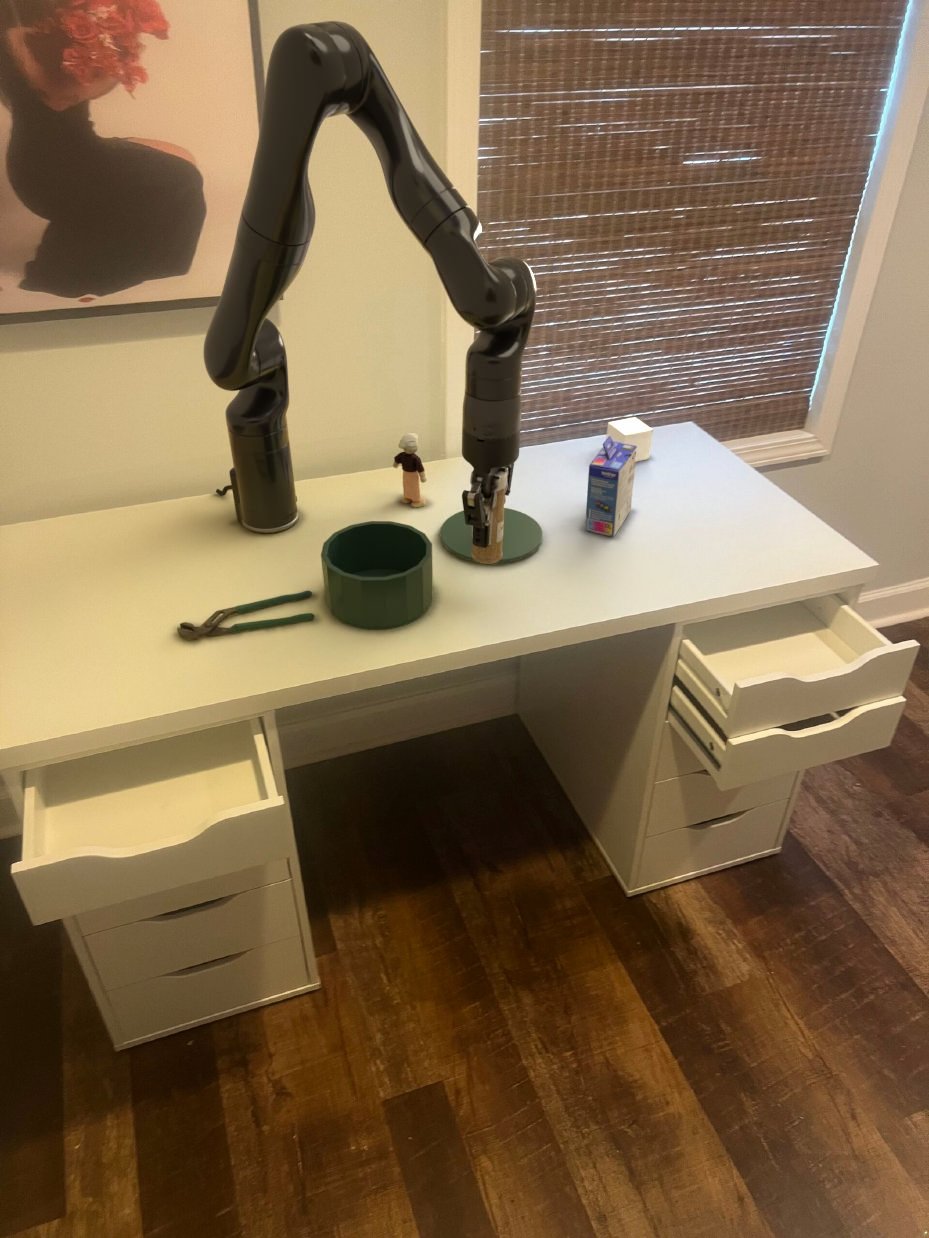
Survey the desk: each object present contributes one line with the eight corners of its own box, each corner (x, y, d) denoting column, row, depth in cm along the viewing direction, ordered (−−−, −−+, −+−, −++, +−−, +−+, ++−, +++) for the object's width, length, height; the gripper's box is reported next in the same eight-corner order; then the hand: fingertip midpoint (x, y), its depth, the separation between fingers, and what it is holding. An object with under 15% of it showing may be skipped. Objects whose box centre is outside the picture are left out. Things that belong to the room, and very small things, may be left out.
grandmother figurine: (436, 502, 157) (435, 434, 149) (423, 511, 154) (421, 443, 146) (399, 490, 160) (397, 423, 152) (387, 499, 157) (383, 432, 150)
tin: (307, 614, 130) (301, 565, 125) (357, 559, 142) (354, 512, 137) (404, 640, 126) (402, 590, 121) (449, 582, 137) (449, 534, 132)
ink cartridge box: (600, 503, 157) (608, 426, 148) (631, 510, 155) (641, 432, 146) (581, 530, 149) (589, 450, 141) (614, 538, 148) (623, 457, 139)
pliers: (311, 595, 134) (311, 588, 134) (321, 619, 129) (320, 612, 129) (175, 620, 129) (174, 612, 128) (180, 646, 124) (178, 638, 123)
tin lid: (423, 552, 144) (422, 513, 139) (463, 505, 156) (463, 467, 152) (522, 575, 139) (524, 535, 134) (555, 524, 151) (558, 486, 147)
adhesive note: (621, 465, 168) (625, 435, 165) (604, 451, 173) (607, 422, 169) (648, 459, 170) (653, 429, 167) (631, 445, 175) (635, 416, 171)
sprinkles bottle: (508, 559, 128) (514, 474, 120) (482, 568, 126) (485, 482, 118) (490, 544, 131) (494, 460, 123) (464, 553, 129) (466, 468, 121)
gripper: (484, 397, 122) (481, 507, 133) (442, 440, 112) (442, 556, 122) (537, 407, 120) (529, 518, 130) (499, 452, 110) (494, 569, 120)
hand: (487, 536), depth 126 cm, fingers closed on sprinkles bottle, 4 cm apart
